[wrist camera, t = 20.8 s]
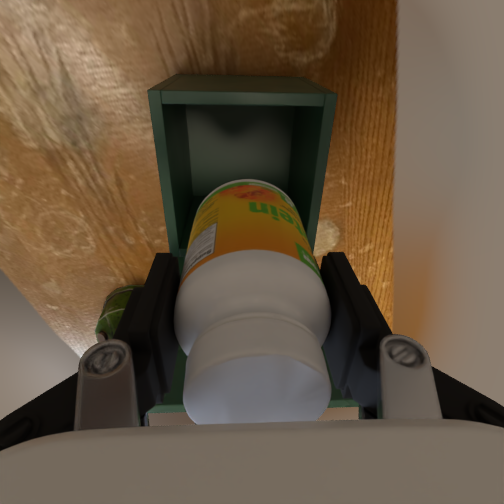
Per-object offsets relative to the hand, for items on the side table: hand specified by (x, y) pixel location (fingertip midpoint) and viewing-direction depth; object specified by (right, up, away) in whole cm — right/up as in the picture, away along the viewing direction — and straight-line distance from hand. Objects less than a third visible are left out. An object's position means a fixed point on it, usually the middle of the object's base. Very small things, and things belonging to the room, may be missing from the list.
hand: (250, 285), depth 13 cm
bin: (-1, +13, +21) cm, 25 cm away
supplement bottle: (0, +3, +4) cm, 5 cm away
